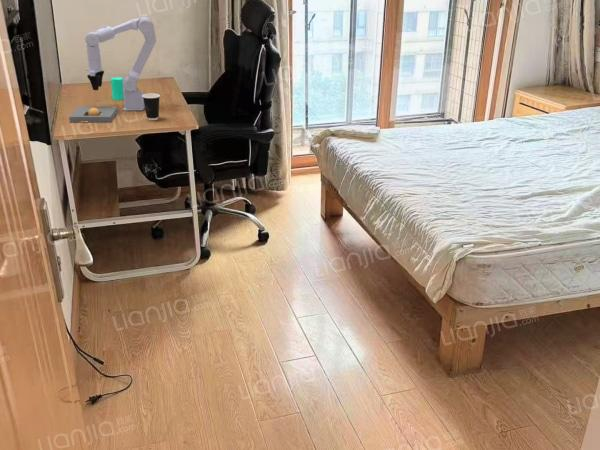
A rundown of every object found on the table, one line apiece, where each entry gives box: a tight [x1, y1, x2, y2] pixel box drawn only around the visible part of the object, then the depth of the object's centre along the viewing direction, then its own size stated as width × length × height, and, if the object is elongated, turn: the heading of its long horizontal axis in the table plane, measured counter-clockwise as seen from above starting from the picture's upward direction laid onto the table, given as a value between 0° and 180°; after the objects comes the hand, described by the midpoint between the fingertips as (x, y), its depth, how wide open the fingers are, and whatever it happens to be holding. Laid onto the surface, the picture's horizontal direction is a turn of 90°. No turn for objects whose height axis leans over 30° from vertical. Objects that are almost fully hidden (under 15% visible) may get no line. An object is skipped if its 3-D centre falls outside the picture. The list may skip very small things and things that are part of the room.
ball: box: [88, 108, 100, 116], centre depth 278 cm, size 5×5×5 cm
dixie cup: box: [142, 93, 161, 121], centre depth 280 cm, size 8×8×11 cm
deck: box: [69, 106, 119, 123], centre depth 281 cm, size 18×18×2 cm
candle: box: [110, 75, 124, 101], centre depth 311 cm, size 6×6×12 cm
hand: (97, 88), depth 289 cm, fingers open, 7 cm apart
